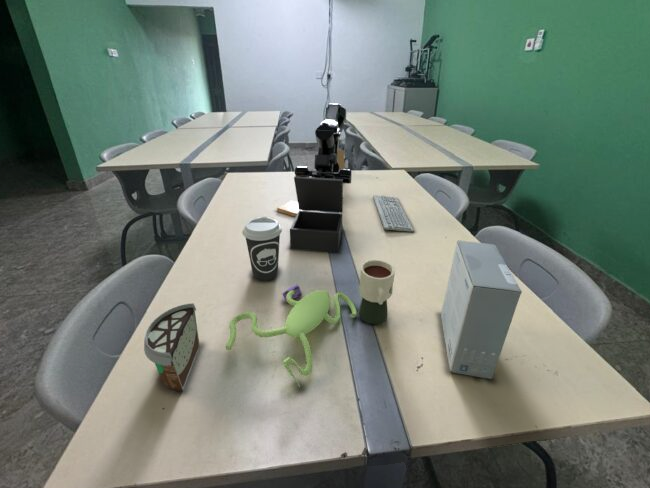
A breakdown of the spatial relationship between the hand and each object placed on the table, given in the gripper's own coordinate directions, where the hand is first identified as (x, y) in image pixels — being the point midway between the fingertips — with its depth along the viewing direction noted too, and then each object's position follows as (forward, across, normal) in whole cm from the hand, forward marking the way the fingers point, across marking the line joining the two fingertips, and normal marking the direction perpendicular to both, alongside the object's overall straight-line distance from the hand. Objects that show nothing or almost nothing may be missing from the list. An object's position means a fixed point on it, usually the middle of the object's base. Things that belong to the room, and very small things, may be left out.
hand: (320, 198), depth 103 cm
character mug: (+36, +18, -19) cm, 44 cm away
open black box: (+13, 0, +4) cm, 13 cm away
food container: (+49, -19, -31) cm, 61 cm away
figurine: (+41, +1, -24) cm, 47 cm away
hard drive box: (+40, +36, -23) cm, 58 cm away
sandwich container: (-35, 0, +51) cm, 62 cm away
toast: (-2, -12, +18) cm, 22 cm away
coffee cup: (+27, -11, -10) cm, 31 cm away
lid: (+1, 0, -4) cm, 4 cm away
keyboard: (-4, +25, +21) cm, 33 cm away
